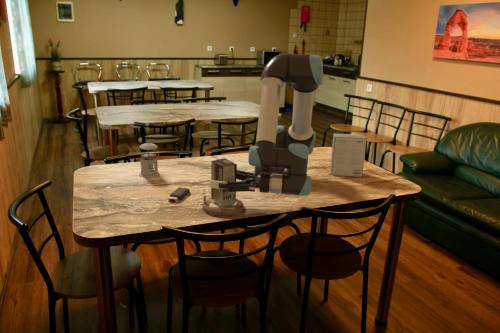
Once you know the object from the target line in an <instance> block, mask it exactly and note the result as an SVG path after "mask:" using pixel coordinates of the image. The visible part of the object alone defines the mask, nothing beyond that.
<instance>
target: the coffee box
mask: <svg viewBox="0 0 500 333" xmlns="http://www.w3.org/2000/svg"><path fill="white" fill-rule="evenodd" d="M210 167H211V168H210V174H211V176H210V180H214V181H229V182H230V183H231V182H237V179H236V177H237V170H238V169H237V168H238V164H237V163H235V162H233V161H231V160H229V159H227V158H218V159H215V160H211V161H210ZM210 193H211V195H210V198H211V199H212V200H214V201H215V202H217V203H218V204H219V205H221V206H227V205H232V204H235V203H236V199H237V198H236V197H237V192H228V190H227V189H220V188H210Z"/></svg>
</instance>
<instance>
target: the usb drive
mask: <svg viewBox="0 0 500 333" xmlns="http://www.w3.org/2000/svg"><path fill="white" fill-rule="evenodd" d="M190 191H191V190H190V188H187V187H179V186H178V187H177V188H176V189H175V190H174V191H172V192H171V193H170V194H169V197H168V202H169V203H178V202H180V201H183V199H185V198H186V197H187V196H188V195H189V194H190Z"/></svg>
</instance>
